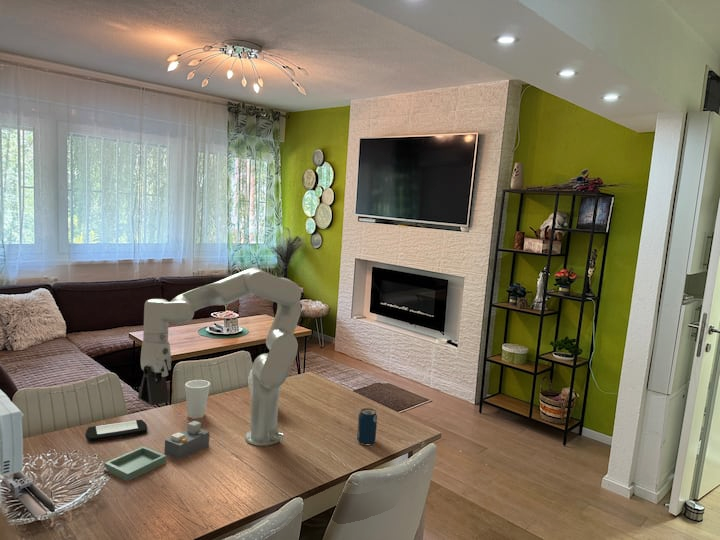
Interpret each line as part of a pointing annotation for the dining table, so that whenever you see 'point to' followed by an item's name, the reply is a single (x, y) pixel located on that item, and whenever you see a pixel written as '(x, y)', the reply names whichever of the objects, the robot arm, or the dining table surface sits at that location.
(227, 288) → the robot arm
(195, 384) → the foam cup
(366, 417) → the soda can
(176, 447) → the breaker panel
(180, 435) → the block
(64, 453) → the dining table surface
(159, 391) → the phone stand
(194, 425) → the block
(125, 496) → the dining table surface
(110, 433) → the light switch
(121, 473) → the tray
